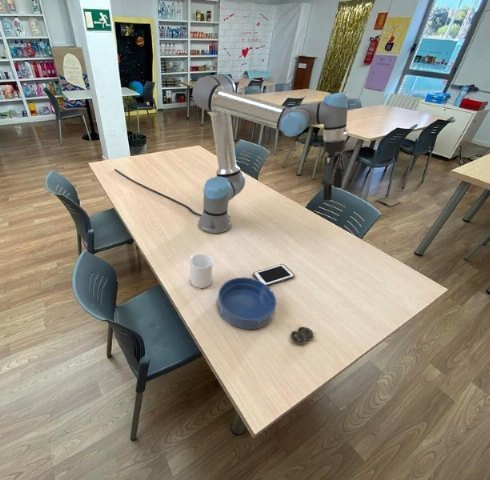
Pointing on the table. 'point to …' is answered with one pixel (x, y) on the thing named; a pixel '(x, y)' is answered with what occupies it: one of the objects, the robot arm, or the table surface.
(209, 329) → the table surface
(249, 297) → the bowl
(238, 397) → the table surface
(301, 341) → the corroded twin loop
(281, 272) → the cell phone
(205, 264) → the mug
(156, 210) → the table surface
